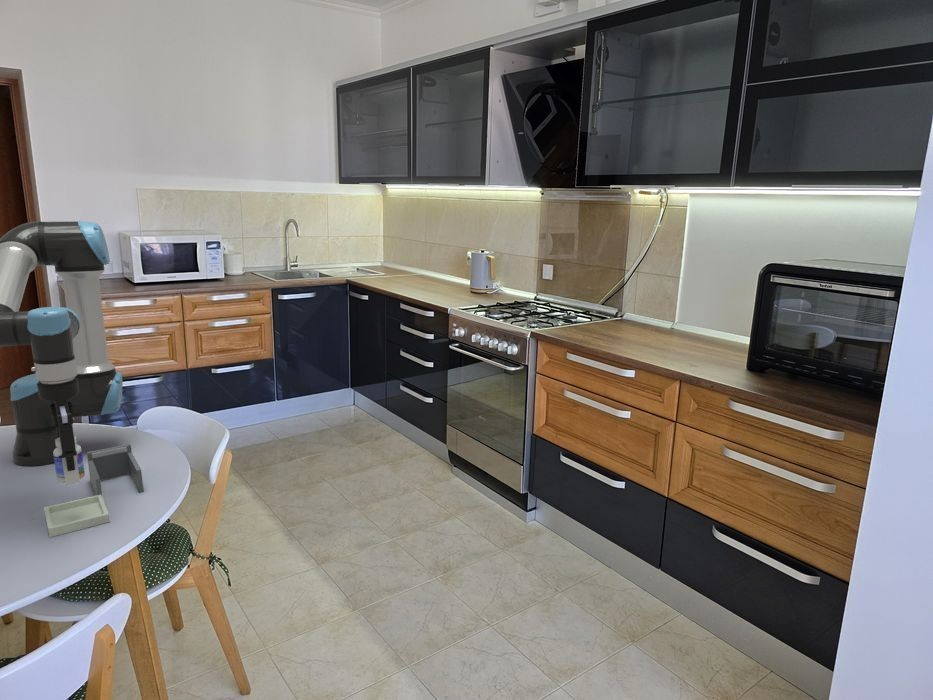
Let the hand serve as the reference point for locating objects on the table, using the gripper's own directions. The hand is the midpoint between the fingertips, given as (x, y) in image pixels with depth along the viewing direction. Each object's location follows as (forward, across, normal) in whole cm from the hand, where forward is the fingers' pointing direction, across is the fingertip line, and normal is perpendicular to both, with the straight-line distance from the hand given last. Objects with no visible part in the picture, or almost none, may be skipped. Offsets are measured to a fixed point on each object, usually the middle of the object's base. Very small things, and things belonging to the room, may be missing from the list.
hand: (71, 477), depth 143 cm
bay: (+10, -13, +10) cm, 20 cm away
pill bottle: (+1, 0, 0) cm, 1 cm away
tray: (+10, 0, 0) cm, 10 cm away
